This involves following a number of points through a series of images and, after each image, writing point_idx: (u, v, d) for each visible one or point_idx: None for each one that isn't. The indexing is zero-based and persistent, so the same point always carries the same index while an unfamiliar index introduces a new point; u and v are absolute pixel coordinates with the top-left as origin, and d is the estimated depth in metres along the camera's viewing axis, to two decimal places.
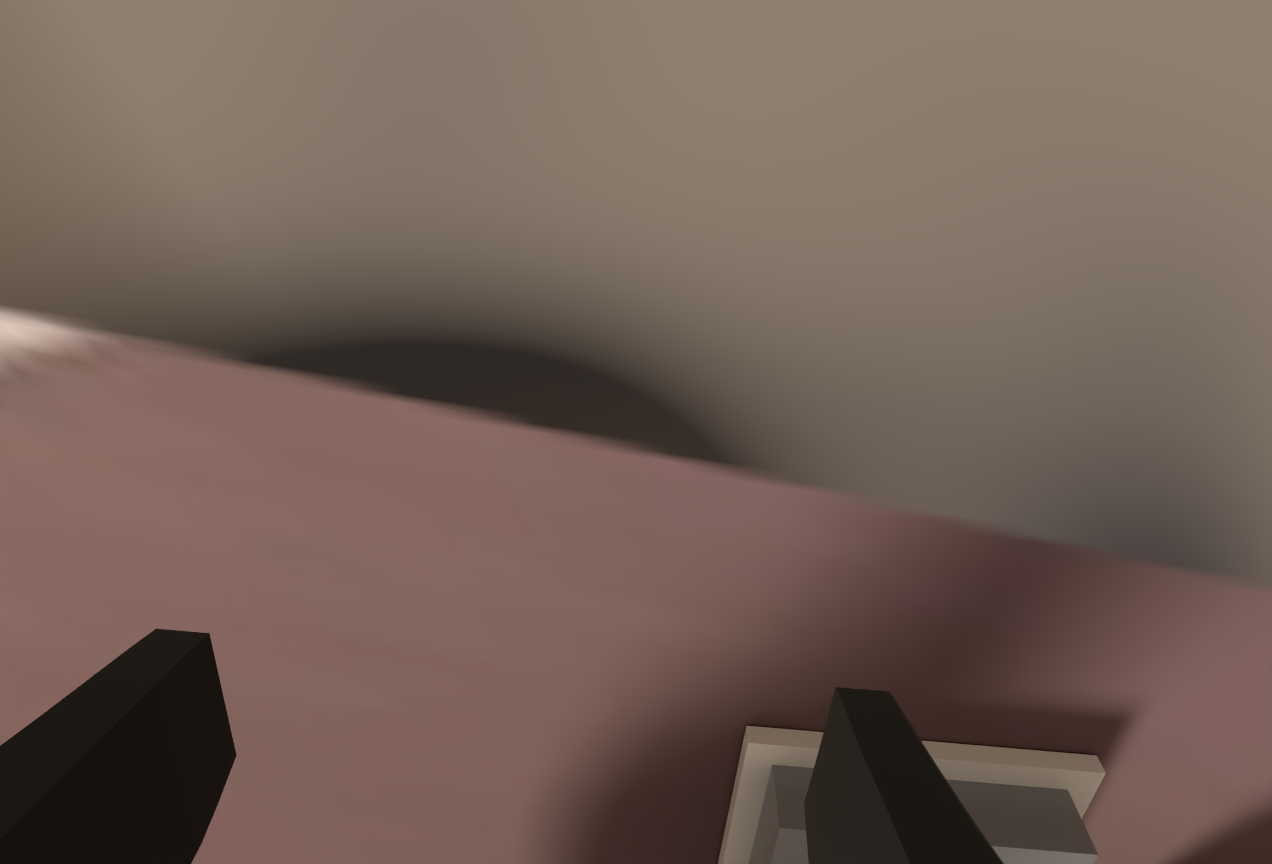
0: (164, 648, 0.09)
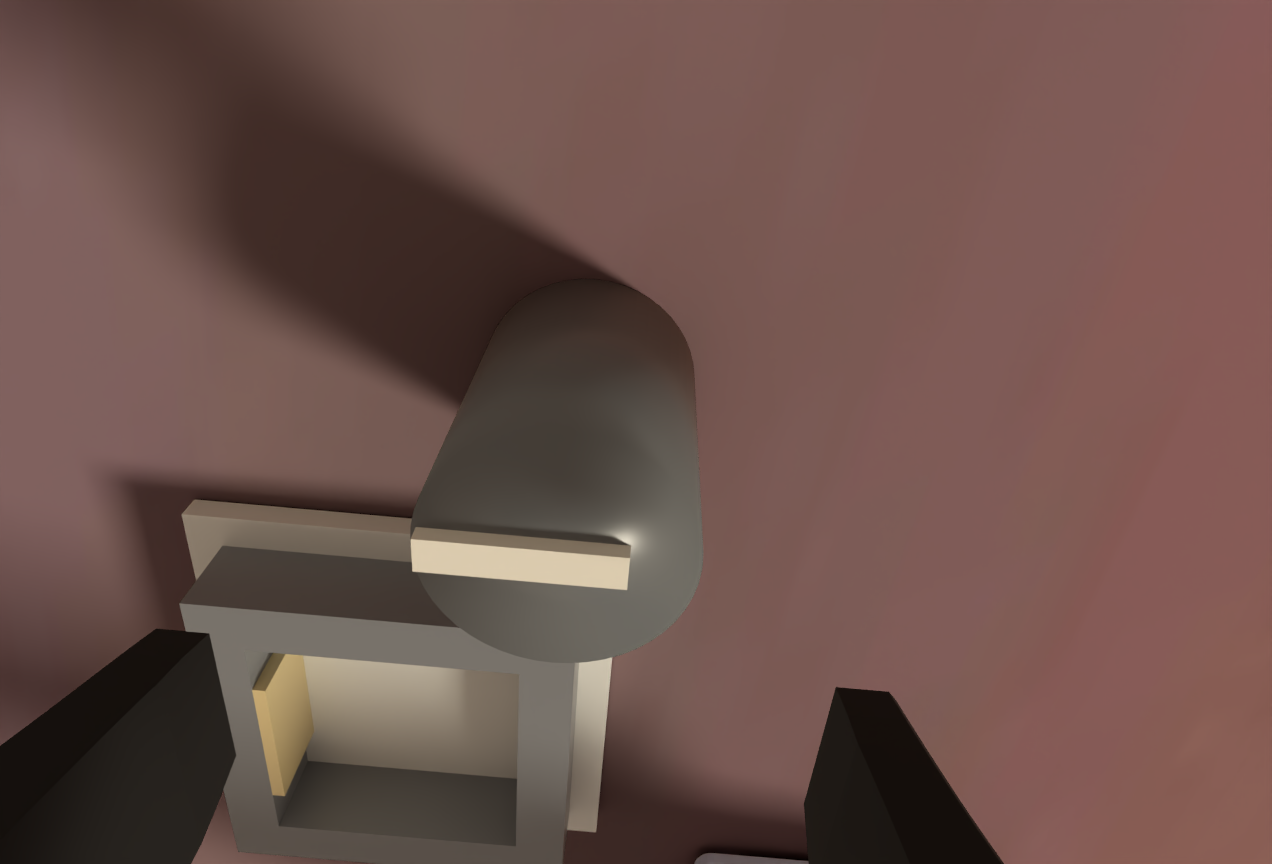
0: (164, 648, 0.09)
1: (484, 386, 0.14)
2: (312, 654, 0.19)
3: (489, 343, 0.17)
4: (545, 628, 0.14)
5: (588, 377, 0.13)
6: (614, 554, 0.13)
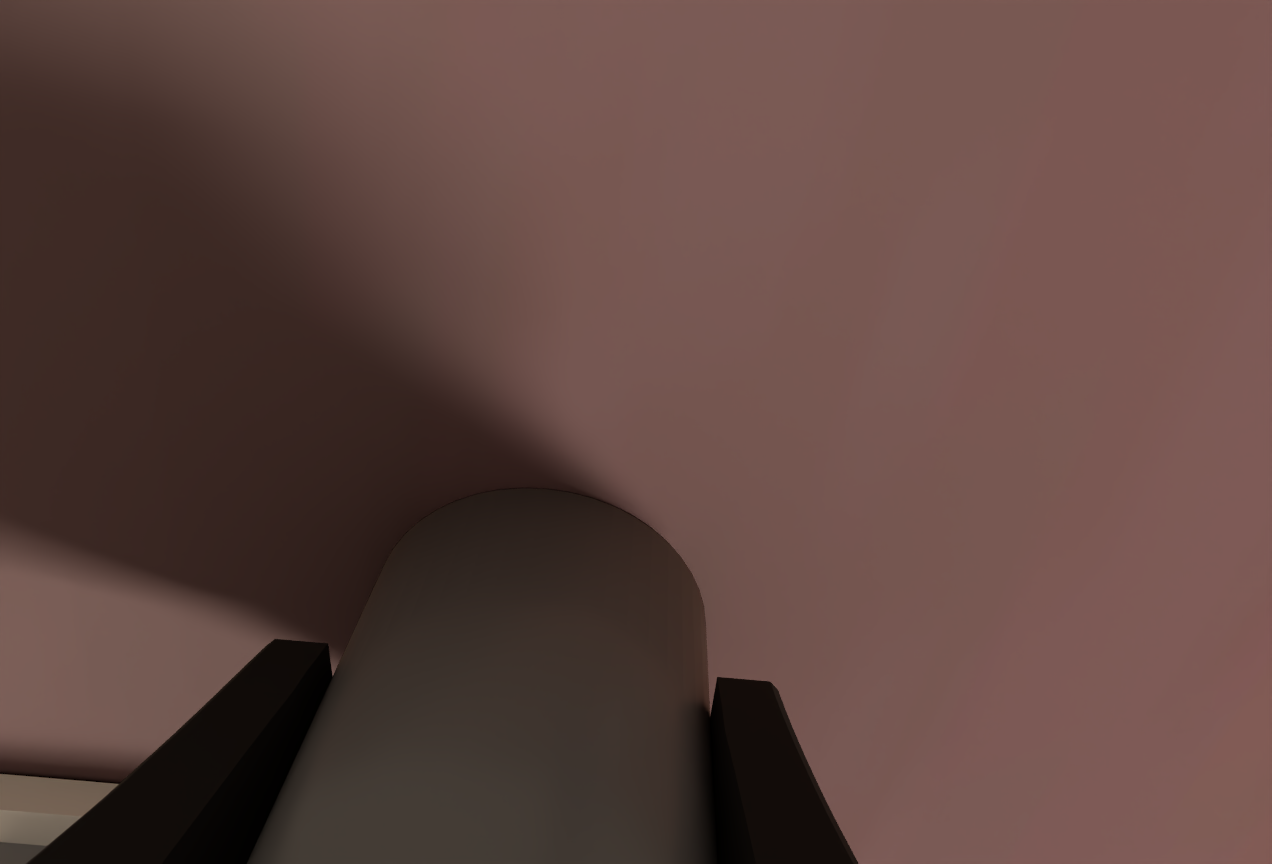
0: (288, 658, 0.09)
1: (313, 779, 0.07)
2: None
3: (370, 596, 0.10)
4: None
5: (505, 803, 0.07)
6: None
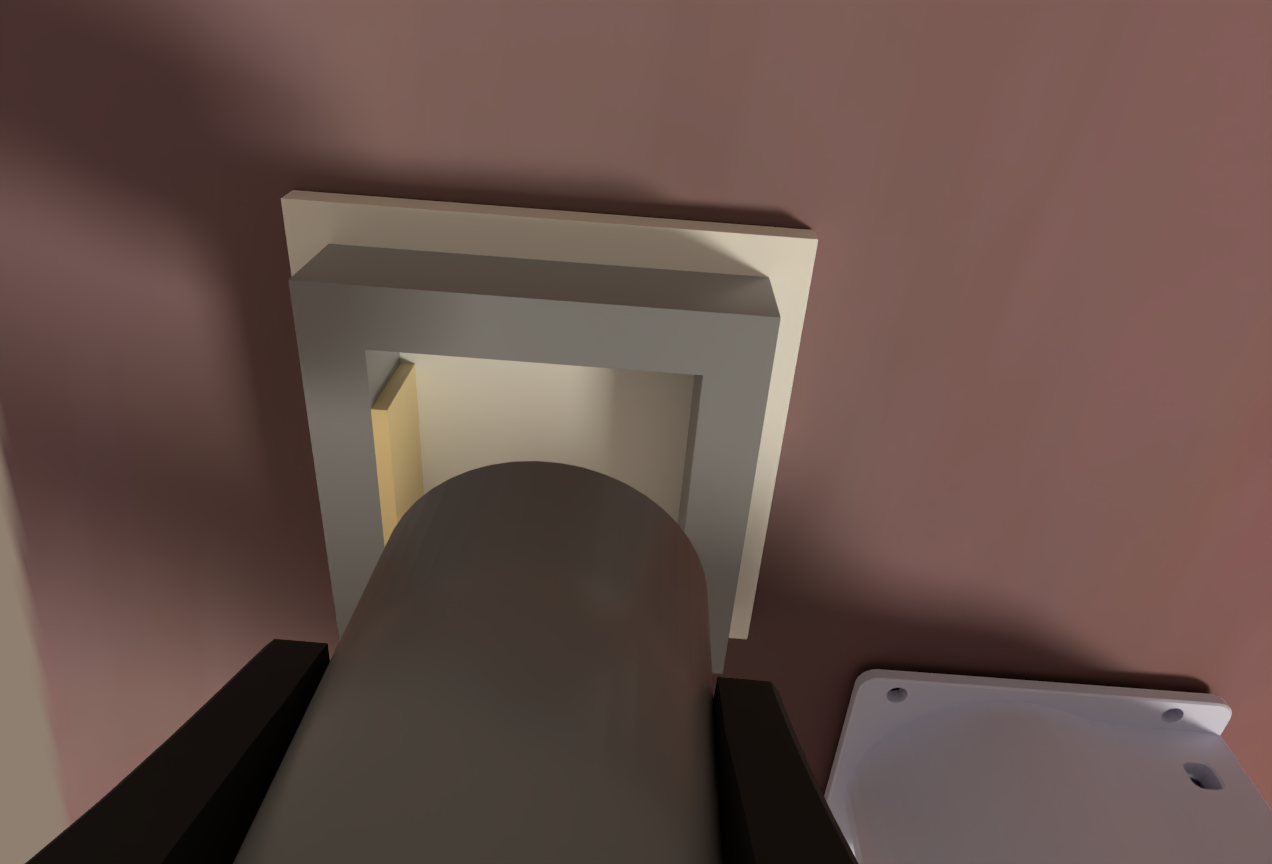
0: (287, 658, 0.09)
1: (331, 729, 0.07)
2: (449, 353, 0.15)
3: (380, 561, 0.10)
4: None
5: (526, 755, 0.07)
6: None
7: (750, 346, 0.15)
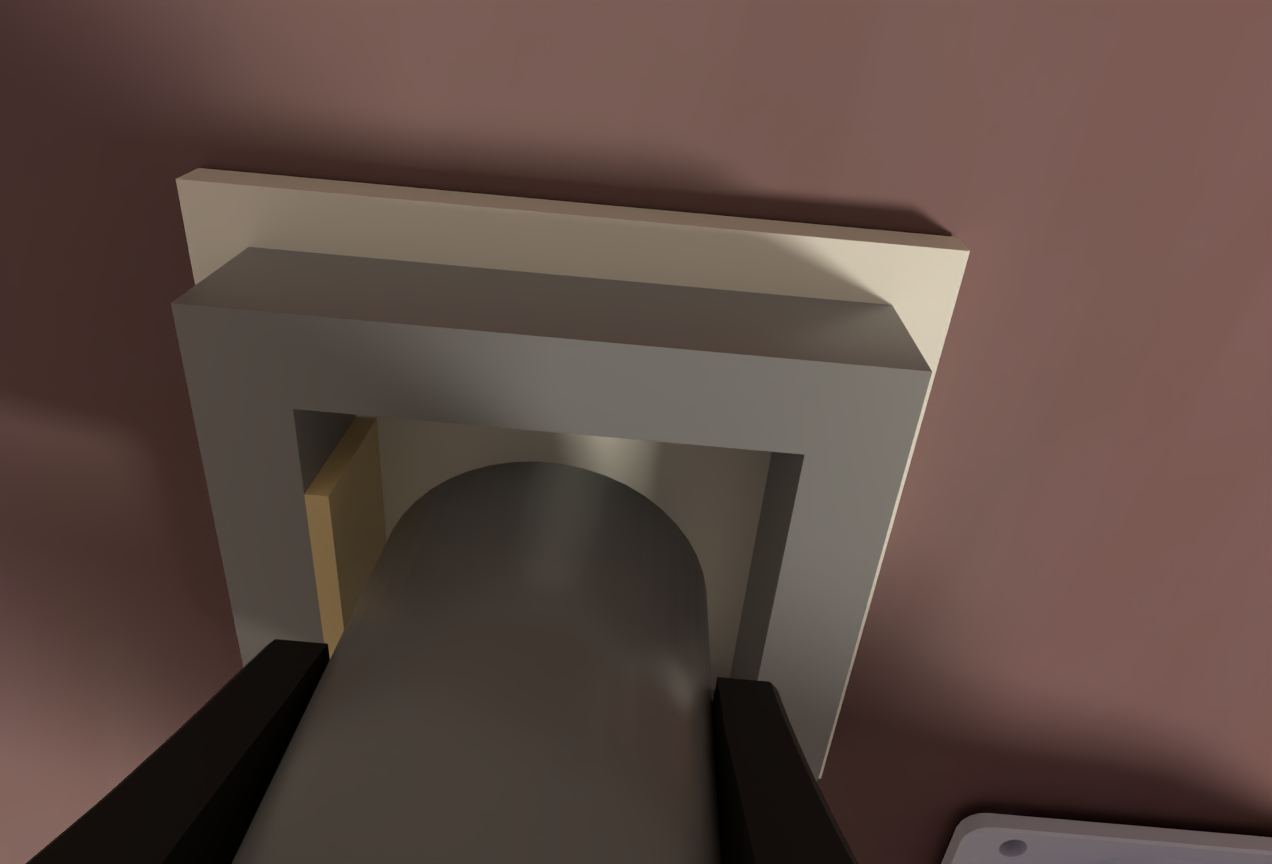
0: (287, 659, 0.09)
1: (329, 729, 0.07)
2: (420, 415, 0.10)
3: (379, 561, 0.10)
4: None
5: (526, 757, 0.07)
6: None
7: (881, 413, 0.10)
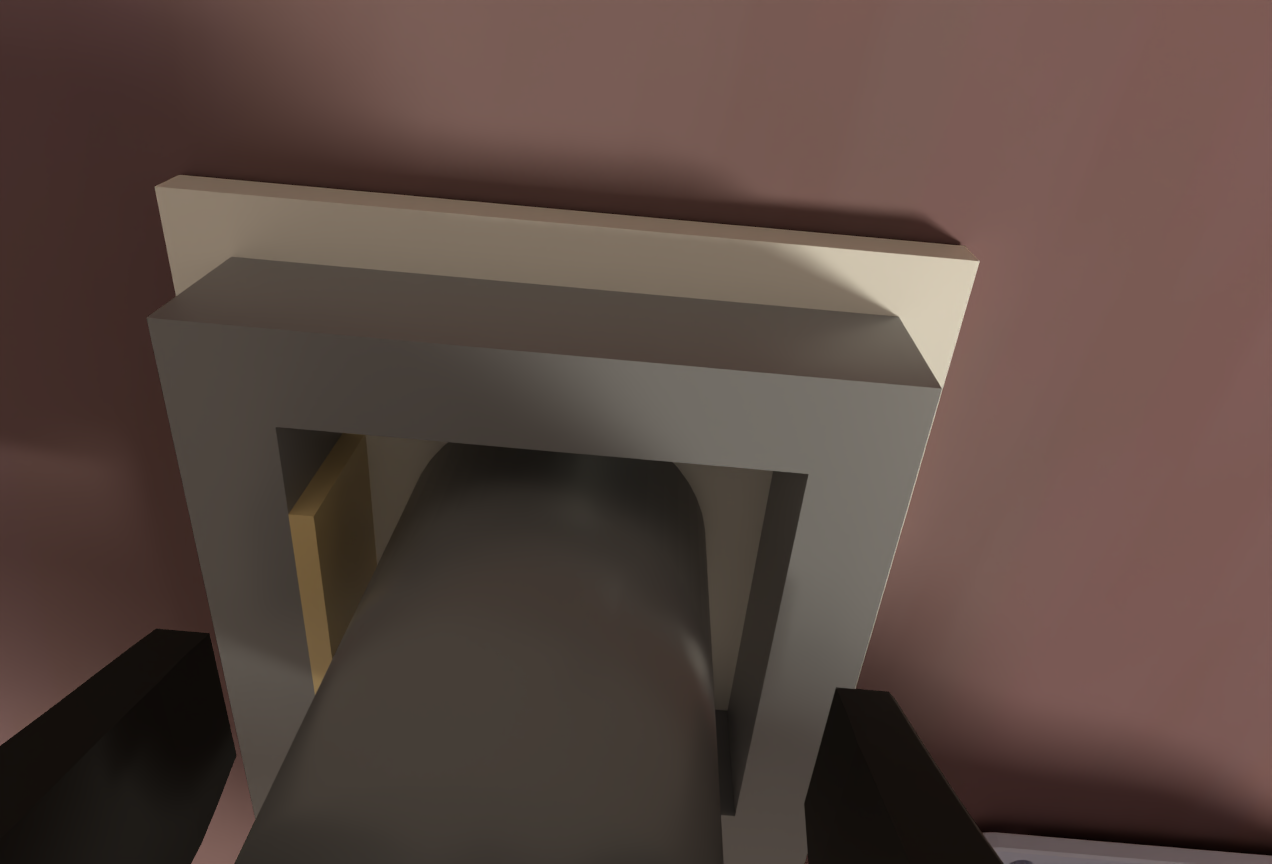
0: (163, 648, 0.09)
1: (378, 623, 0.09)
2: (408, 434, 0.10)
3: (411, 498, 0.11)
4: None
5: (550, 637, 0.08)
6: None
7: (888, 432, 0.09)
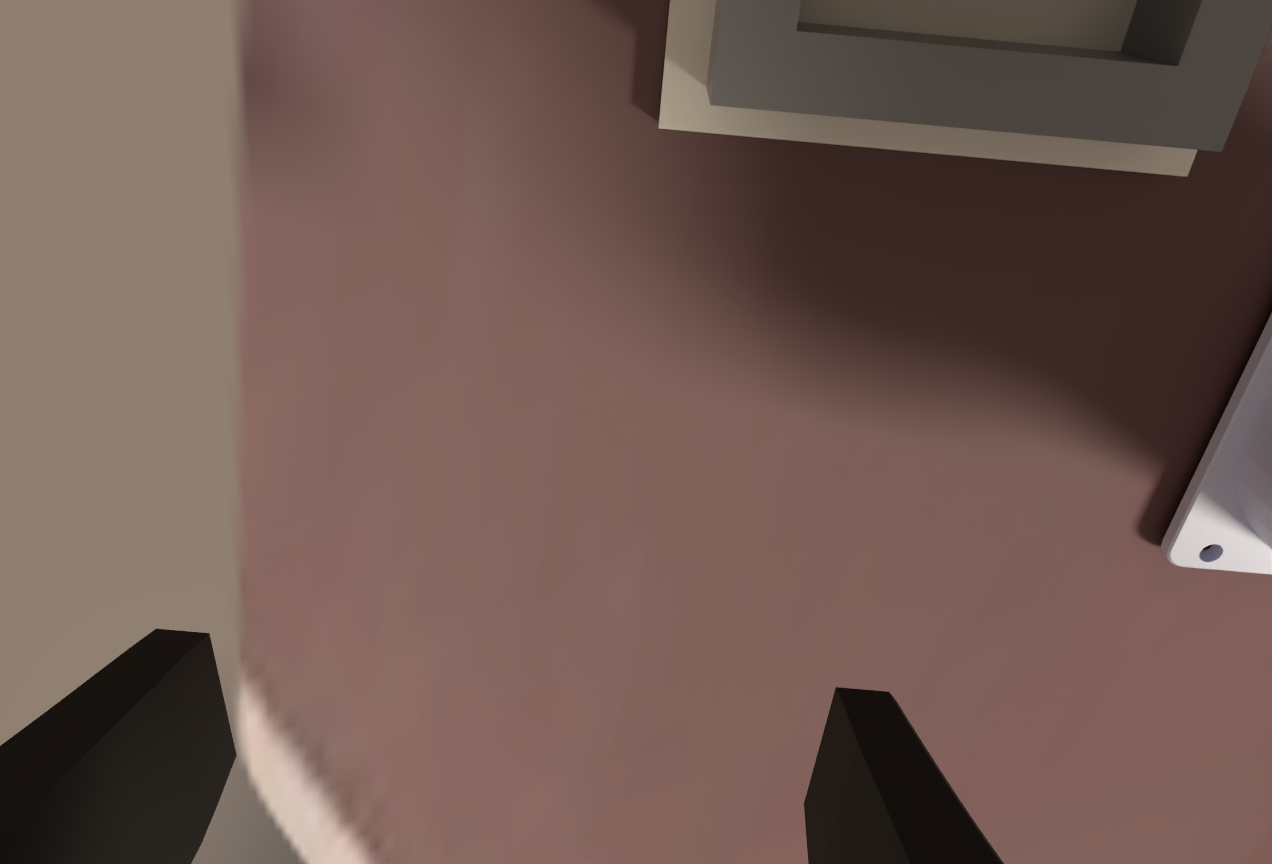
0: (163, 648, 0.09)
1: None
2: None
3: None
4: None
5: None
6: None
7: None
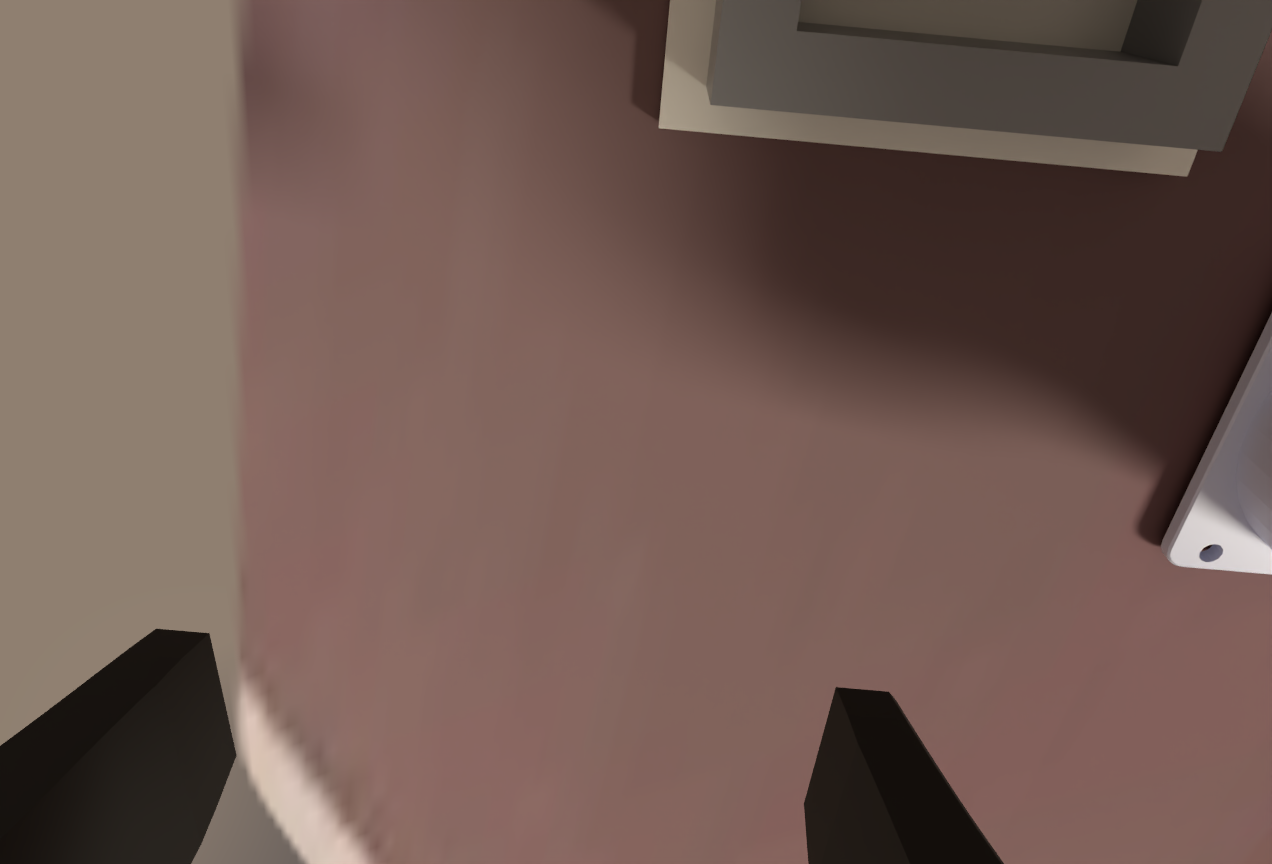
0: (164, 648, 0.09)
1: None
2: None
3: None
4: None
5: None
6: None
7: None
